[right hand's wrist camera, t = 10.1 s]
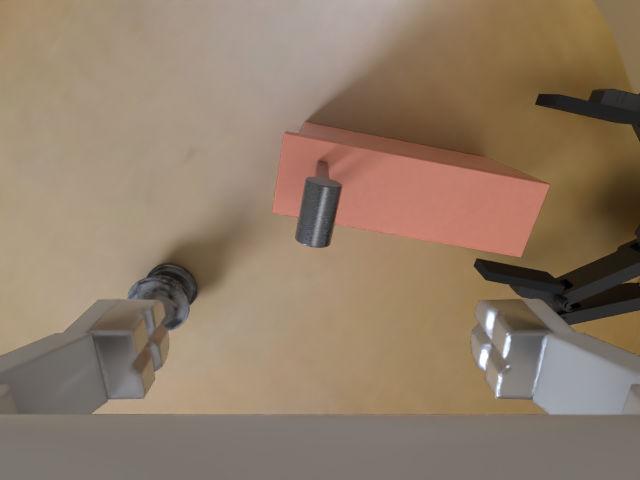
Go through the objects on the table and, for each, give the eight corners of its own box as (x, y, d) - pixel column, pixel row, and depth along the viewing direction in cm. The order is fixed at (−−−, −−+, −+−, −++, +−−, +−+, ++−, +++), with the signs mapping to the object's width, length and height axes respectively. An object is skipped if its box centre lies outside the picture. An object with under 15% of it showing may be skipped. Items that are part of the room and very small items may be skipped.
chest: (294, 179, 37) (285, 210, 28) (304, 121, 35) (298, 133, 26) (466, 211, 38) (513, 251, 29) (484, 157, 36) (541, 180, 27)
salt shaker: (153, 252, 40) (87, 317, 28) (208, 276, 41) (165, 349, 29) (135, 298, 41) (66, 376, 30) (188, 320, 42) (140, 404, 31)
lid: (273, 208, 28) (254, 258, 19) (285, 131, 26) (269, 150, 18) (514, 251, 29) (590, 316, 21) (542, 180, 27) (638, 220, 19)
